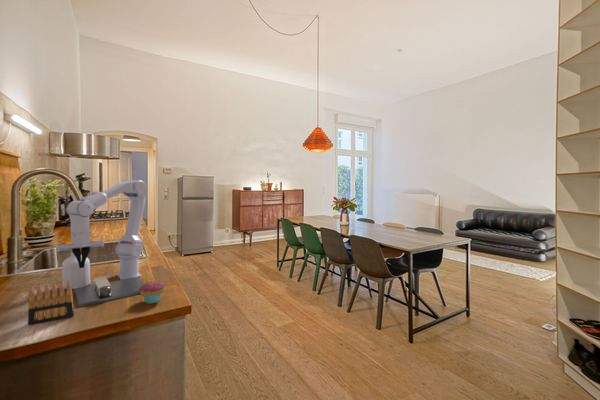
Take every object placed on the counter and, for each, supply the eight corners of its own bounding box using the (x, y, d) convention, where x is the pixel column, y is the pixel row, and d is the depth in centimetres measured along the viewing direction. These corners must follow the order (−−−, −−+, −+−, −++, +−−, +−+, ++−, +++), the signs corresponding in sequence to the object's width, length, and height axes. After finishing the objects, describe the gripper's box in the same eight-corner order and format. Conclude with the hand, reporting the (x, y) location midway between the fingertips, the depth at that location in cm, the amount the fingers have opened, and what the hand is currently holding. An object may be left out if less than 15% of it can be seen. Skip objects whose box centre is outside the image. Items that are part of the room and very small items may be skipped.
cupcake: (136, 306, 100) (135, 273, 99) (142, 297, 108) (142, 266, 107) (163, 304, 102) (162, 271, 101) (167, 295, 110) (167, 264, 109)
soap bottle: (75, 290, 112) (73, 229, 111) (56, 288, 114) (54, 228, 113) (95, 283, 121) (94, 225, 120) (78, 281, 123) (76, 224, 121)
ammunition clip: (73, 314, 93) (72, 278, 92) (73, 317, 91) (72, 280, 91) (29, 323, 87) (27, 285, 86) (27, 326, 85) (26, 287, 85)
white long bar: (93, 284, 115) (93, 277, 115) (105, 282, 118) (105, 275, 118) (99, 298, 102) (99, 290, 102) (112, 295, 105) (112, 287, 104)
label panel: (74, 291, 112) (74, 287, 112) (137, 279, 126) (137, 276, 126) (78, 307, 98) (78, 302, 98) (148, 291, 113) (148, 288, 113)
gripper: (55, 236, 100) (57, 273, 101) (105, 231, 110) (105, 266, 111) (55, 233, 106) (56, 268, 107) (102, 229, 115) (103, 262, 116)
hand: (81, 267), depth 109 cm, fingers closed
